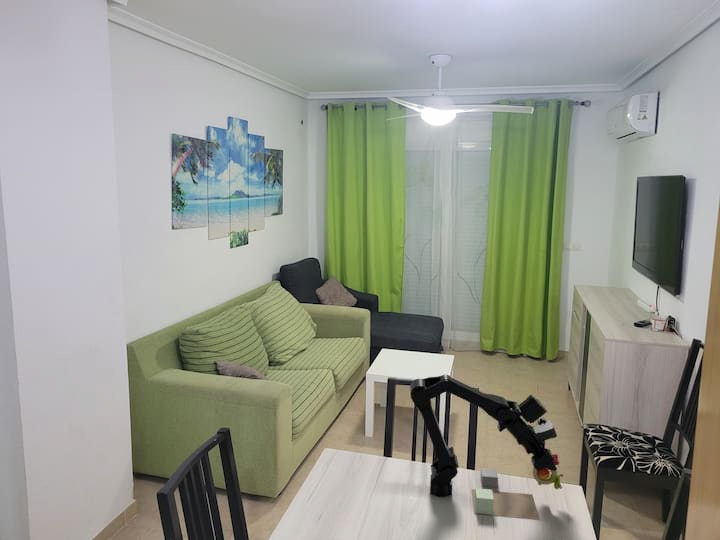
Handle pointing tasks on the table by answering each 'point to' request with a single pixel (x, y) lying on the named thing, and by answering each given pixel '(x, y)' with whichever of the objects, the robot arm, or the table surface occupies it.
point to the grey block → (489, 477)
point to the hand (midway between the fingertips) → (554, 466)
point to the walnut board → (512, 505)
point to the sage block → (484, 501)
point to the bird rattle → (544, 475)
